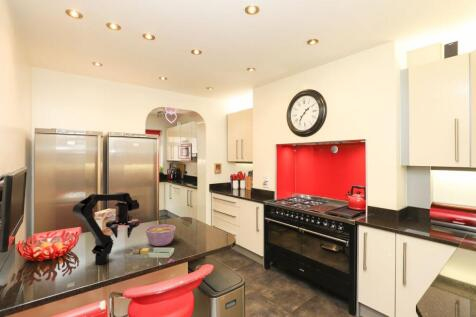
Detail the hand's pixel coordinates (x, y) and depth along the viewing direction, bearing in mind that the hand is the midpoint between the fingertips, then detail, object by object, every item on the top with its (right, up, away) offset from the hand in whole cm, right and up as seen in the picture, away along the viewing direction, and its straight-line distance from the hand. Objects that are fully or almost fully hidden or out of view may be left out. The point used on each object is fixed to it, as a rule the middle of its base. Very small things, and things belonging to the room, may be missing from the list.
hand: (122, 237), depth 143 cm
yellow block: (+14, -10, 0) cm, 17 cm away
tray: (+25, -11, 0) cm, 27 cm away
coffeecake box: (-32, -11, +37) cm, 50 cm away
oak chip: (+9, -10, 0) cm, 13 cm away
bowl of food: (+18, -12, +18) cm, 28 cm away
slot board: (+11, -11, 0) cm, 16 cm away
